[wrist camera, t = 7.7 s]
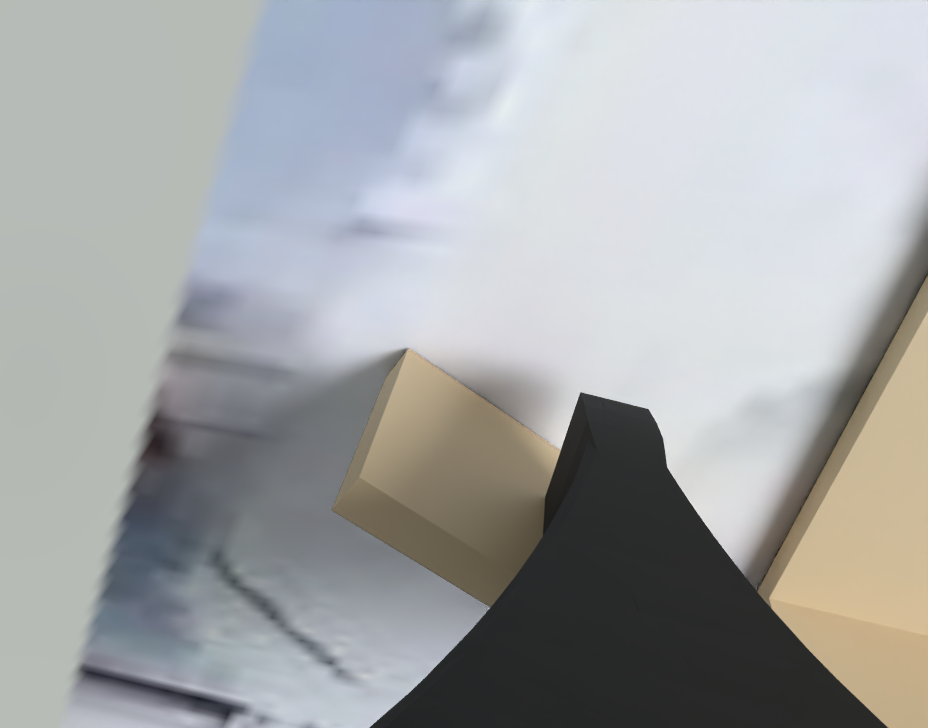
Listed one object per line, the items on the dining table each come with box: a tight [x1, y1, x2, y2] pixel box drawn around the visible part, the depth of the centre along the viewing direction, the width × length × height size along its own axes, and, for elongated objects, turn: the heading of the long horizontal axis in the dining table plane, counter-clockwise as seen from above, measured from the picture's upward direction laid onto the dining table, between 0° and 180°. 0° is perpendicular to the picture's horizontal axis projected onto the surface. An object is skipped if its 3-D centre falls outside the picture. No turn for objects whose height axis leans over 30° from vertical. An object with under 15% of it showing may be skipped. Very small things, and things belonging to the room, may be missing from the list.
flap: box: [332, 348, 560, 607], centre depth 10 cm, size 6×1×3 cm, turn 55°
